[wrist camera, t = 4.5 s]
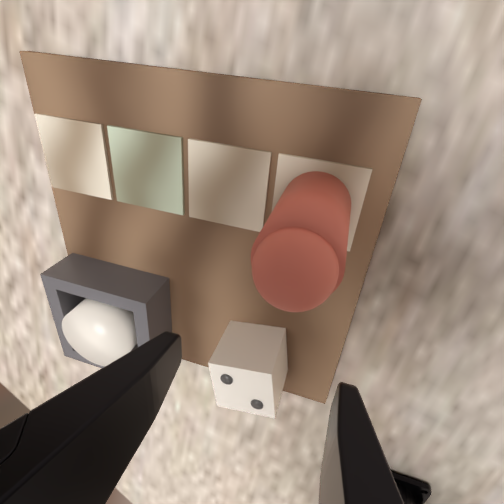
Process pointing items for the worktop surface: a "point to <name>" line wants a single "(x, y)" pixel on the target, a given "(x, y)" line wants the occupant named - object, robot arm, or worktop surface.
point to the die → (250, 368)
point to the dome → (100, 331)
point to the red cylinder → (303, 243)
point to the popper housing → (108, 295)
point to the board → (213, 186)
